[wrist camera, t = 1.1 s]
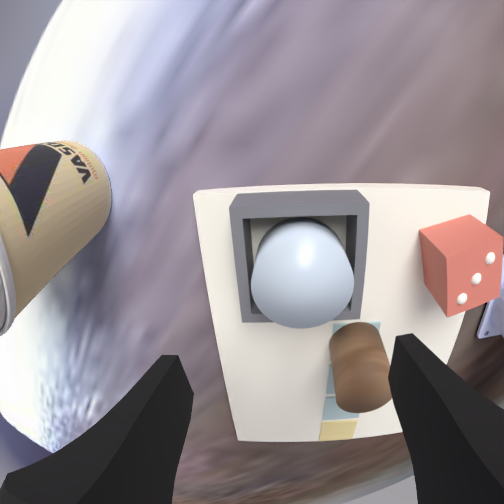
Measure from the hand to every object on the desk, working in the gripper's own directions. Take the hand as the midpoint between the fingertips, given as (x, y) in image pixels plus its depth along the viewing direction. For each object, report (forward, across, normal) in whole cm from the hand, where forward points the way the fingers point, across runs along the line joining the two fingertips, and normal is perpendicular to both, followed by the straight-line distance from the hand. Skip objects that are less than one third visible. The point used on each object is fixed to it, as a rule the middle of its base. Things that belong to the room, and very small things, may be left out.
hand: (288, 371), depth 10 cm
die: (+10, -11, +1) cm, 15 cm away
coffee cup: (+12, +15, -5) cm, 20 cm away
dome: (+8, -1, 0) cm, 8 cm away
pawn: (+10, -4, +8) cm, 13 cm away
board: (+11, -4, +9) cm, 15 cm away
